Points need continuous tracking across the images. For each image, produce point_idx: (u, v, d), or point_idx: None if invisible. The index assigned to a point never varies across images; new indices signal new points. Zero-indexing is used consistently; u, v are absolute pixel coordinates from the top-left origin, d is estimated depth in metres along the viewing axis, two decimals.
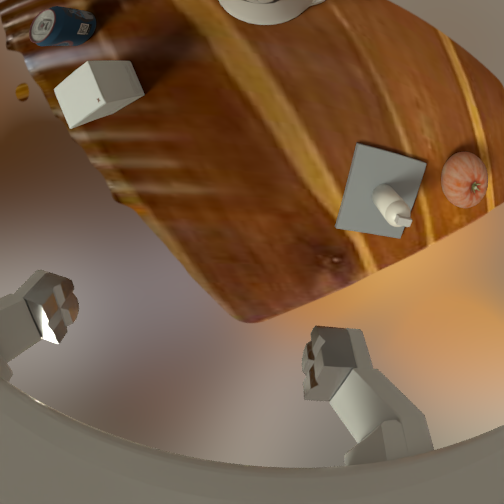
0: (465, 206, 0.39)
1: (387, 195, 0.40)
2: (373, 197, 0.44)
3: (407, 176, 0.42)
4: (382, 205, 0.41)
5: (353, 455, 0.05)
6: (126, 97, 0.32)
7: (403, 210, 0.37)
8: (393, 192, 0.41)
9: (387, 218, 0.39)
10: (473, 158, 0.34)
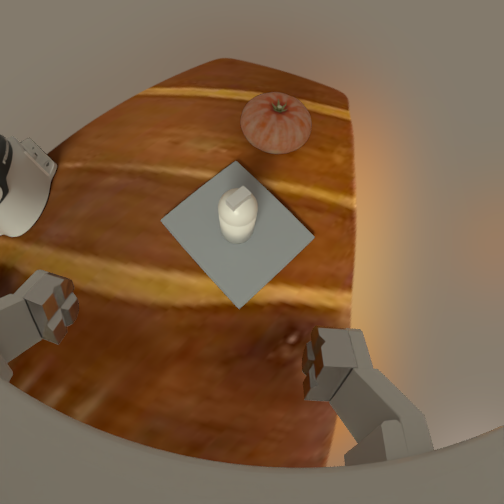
0: (301, 128, 0.36)
1: None
2: (227, 238, 0.36)
3: None
4: (223, 225, 0.32)
5: (353, 455, 0.05)
6: None
7: (228, 193, 0.29)
8: None
9: (231, 221, 0.29)
10: (249, 101, 0.37)
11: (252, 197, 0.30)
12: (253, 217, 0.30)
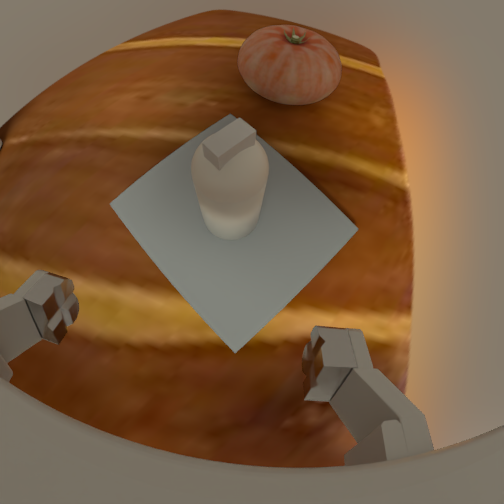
0: (329, 64, 0.20)
1: None
2: (213, 231, 0.20)
3: None
4: (202, 203, 0.17)
5: (353, 455, 0.05)
6: None
7: None
8: None
9: (215, 192, 0.14)
10: (250, 35, 0.22)
11: (258, 145, 0.14)
12: (260, 184, 0.15)
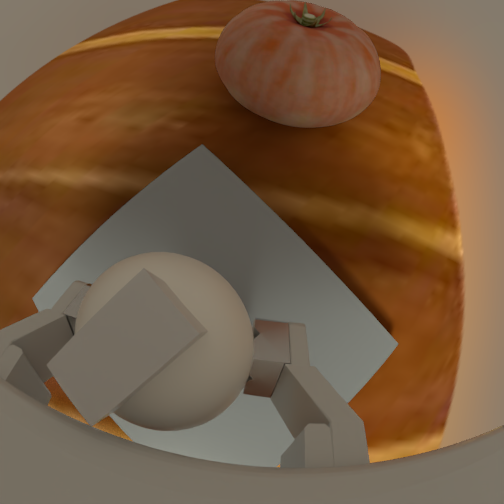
0: (367, 63, 0.11)
1: None
2: None
3: (194, 216, 0.14)
4: None
5: (285, 457, 0.05)
6: None
7: (95, 298, 0.05)
8: None
9: None
10: (236, 16, 0.13)
11: (221, 318, 0.05)
12: (231, 402, 0.06)
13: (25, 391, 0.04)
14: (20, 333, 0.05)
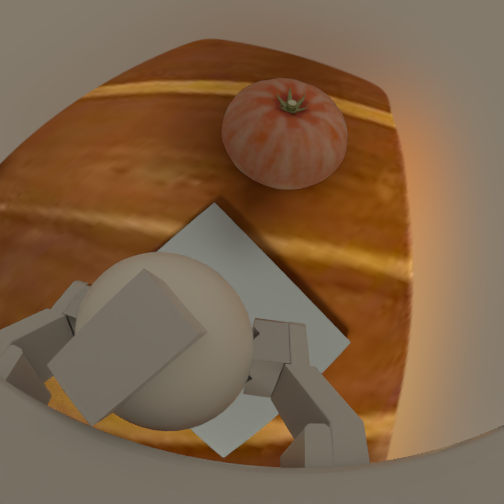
0: (333, 143, 0.19)
1: None
2: None
3: (211, 256, 0.22)
4: None
5: (285, 457, 0.05)
6: None
7: (96, 298, 0.05)
8: None
9: None
10: (236, 95, 0.21)
11: (221, 318, 0.05)
12: (231, 402, 0.06)
13: (25, 391, 0.04)
14: (20, 333, 0.05)
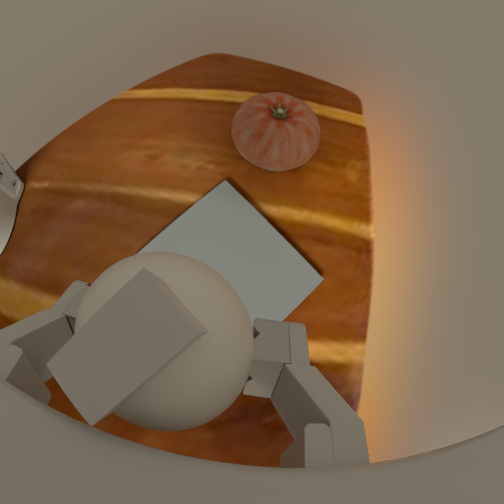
0: (308, 138, 0.28)
1: None
2: None
3: (223, 216, 0.31)
4: None
5: (285, 457, 0.05)
6: None
7: (95, 297, 0.05)
8: None
9: None
10: (241, 104, 0.30)
11: (221, 318, 0.05)
12: (232, 402, 0.06)
13: (25, 391, 0.04)
14: (20, 333, 0.05)
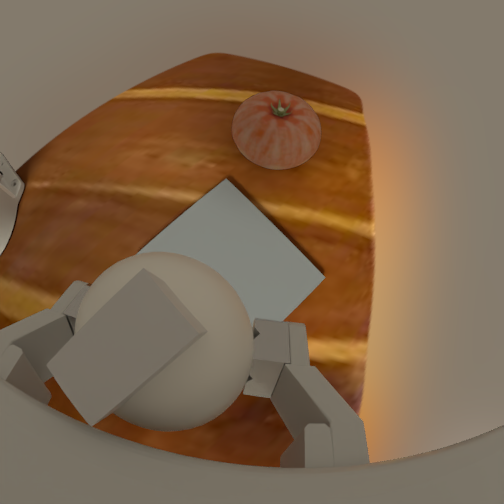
0: (309, 136, 0.28)
1: None
2: None
3: (224, 215, 0.31)
4: None
5: (285, 457, 0.05)
6: None
7: (95, 298, 0.05)
8: None
9: None
10: (242, 103, 0.30)
11: (221, 318, 0.05)
12: (231, 402, 0.06)
13: (25, 391, 0.04)
14: (20, 333, 0.05)
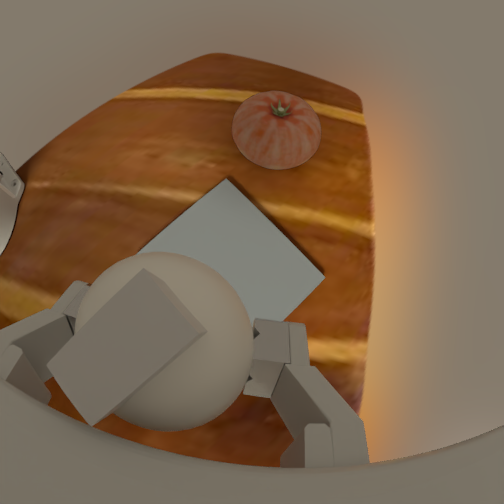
0: (309, 136, 0.28)
1: None
2: None
3: (224, 215, 0.31)
4: None
5: (285, 457, 0.05)
6: None
7: (95, 298, 0.05)
8: None
9: None
10: (242, 103, 0.30)
11: (221, 318, 0.05)
12: (231, 402, 0.06)
13: (25, 391, 0.04)
14: (20, 333, 0.05)
